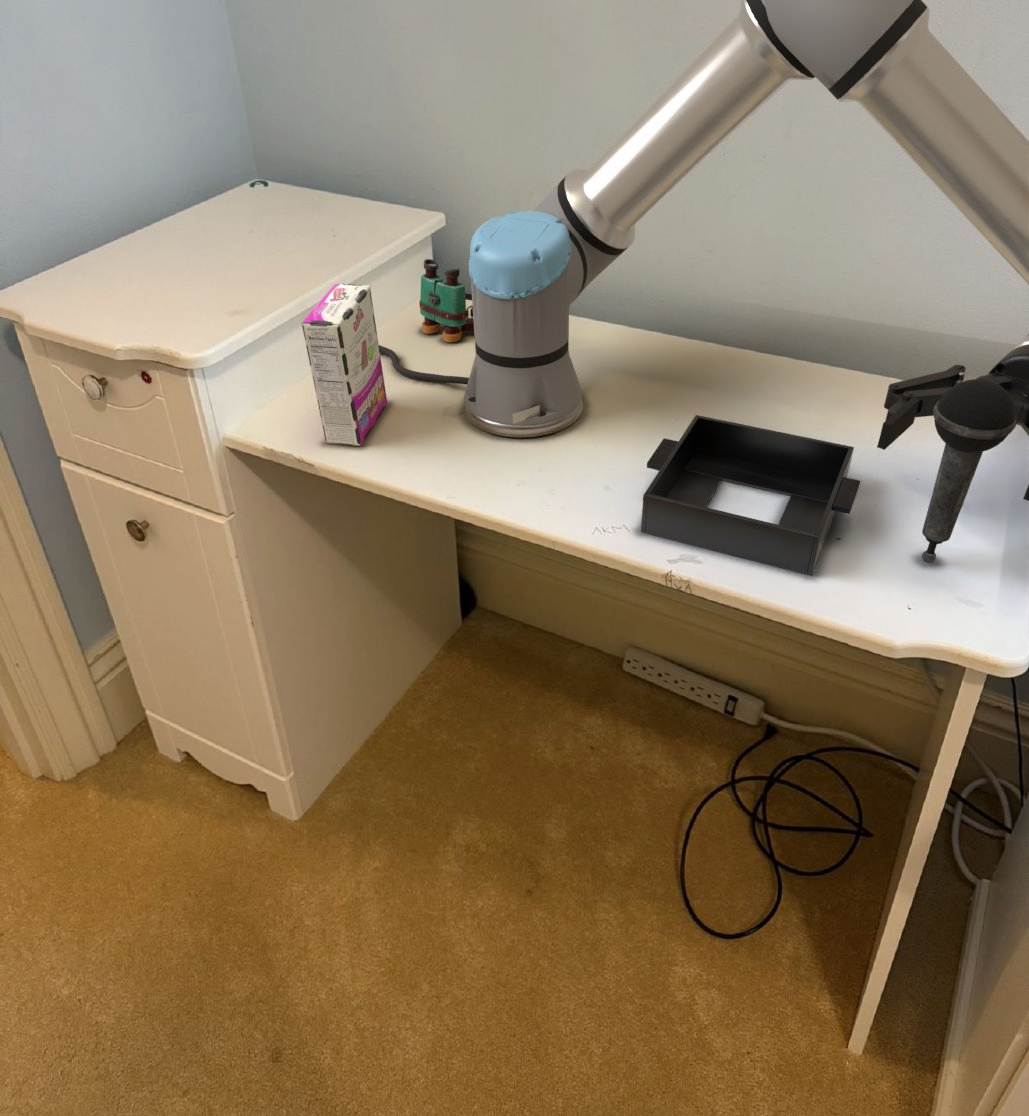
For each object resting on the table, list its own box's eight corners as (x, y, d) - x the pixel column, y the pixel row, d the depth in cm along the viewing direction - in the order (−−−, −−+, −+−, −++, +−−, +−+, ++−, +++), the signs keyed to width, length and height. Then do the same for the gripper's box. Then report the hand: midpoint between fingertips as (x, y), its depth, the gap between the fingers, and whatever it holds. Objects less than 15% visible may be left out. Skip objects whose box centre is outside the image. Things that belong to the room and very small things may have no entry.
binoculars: (500, 261, 133) (450, 275, 127) (497, 331, 139) (450, 347, 133) (457, 247, 138) (407, 260, 132) (456, 315, 144) (409, 330, 138)
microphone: (922, 590, 89) (981, 409, 76) (877, 550, 94) (925, 373, 81) (979, 573, 91) (1046, 393, 78) (931, 534, 96) (987, 359, 83)
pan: (624, 527, 98) (626, 490, 95) (677, 446, 111) (681, 411, 108) (830, 580, 90) (839, 542, 87) (862, 486, 103) (871, 450, 100)
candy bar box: (352, 401, 122) (333, 282, 112) (388, 404, 121) (372, 284, 111) (322, 445, 113) (299, 320, 103) (360, 448, 112) (340, 322, 102)
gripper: (1154, 447, 91) (1086, 547, 79) (911, 374, 105) (822, 449, 93) (1186, 380, 87) (1119, 475, 75) (928, 312, 100) (836, 383, 88)
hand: (954, 461), depth 84 cm, fingers open, 13 cm apart
